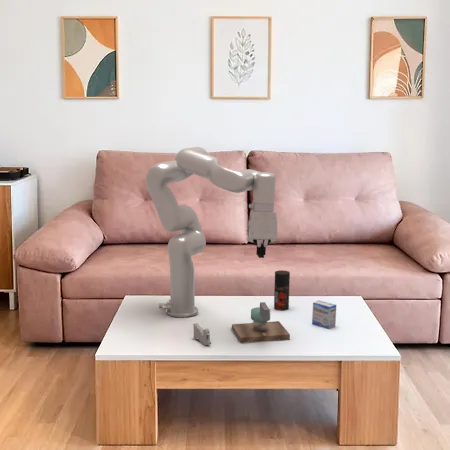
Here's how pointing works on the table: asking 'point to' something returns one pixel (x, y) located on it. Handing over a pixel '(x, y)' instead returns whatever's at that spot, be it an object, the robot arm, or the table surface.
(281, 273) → the deodorant
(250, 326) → the base
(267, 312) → the lock handle
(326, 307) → the medicine box
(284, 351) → the table surface
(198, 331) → the grey flat irregular piece
